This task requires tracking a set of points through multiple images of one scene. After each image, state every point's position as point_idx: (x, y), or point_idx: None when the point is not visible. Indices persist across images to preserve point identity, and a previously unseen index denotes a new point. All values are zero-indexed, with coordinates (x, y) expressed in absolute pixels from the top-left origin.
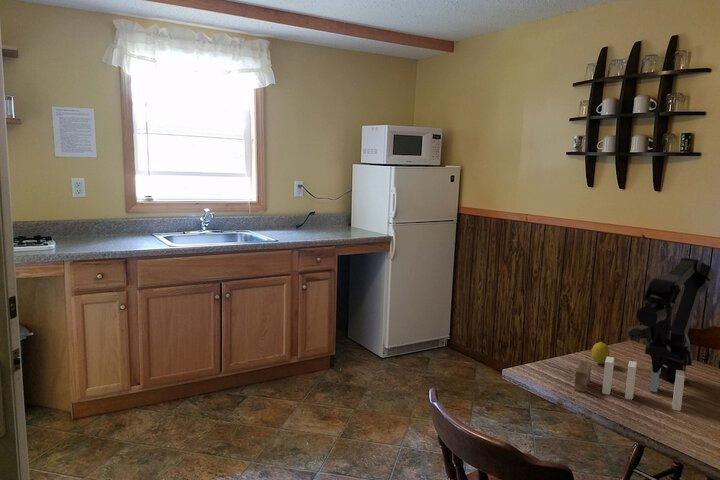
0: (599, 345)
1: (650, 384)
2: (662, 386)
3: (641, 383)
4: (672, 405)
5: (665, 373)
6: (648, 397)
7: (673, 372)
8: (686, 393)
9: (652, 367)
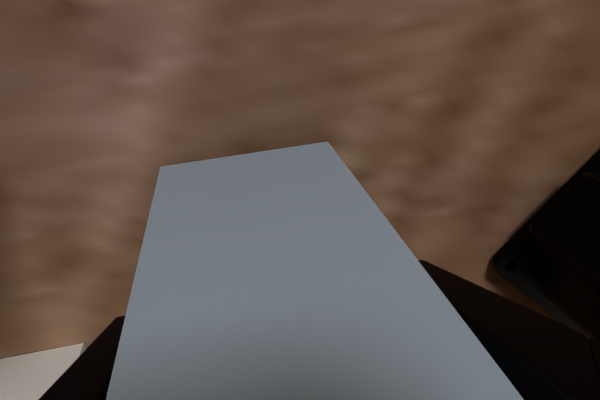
0: None
1: (154, 198)
2: (387, 218)
3: (345, 54)
4: (3, 360)
5: (571, 239)
6: (11, 183)
7: (586, 303)
8: None
9: (123, 346)
